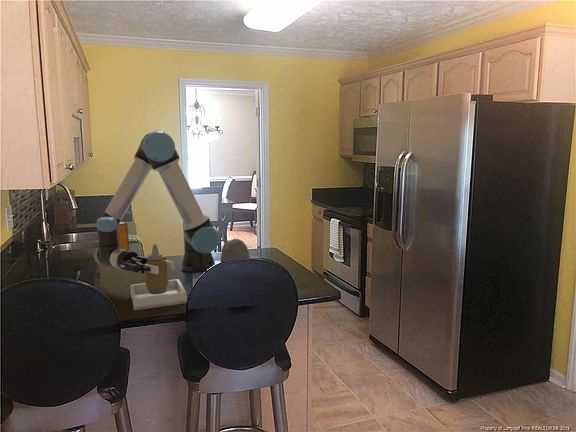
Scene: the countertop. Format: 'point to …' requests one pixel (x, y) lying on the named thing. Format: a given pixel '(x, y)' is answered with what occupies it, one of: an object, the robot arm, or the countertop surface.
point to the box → (158, 296)
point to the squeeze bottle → (156, 281)
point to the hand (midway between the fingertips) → (165, 267)
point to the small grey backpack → (234, 250)
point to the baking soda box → (123, 236)
